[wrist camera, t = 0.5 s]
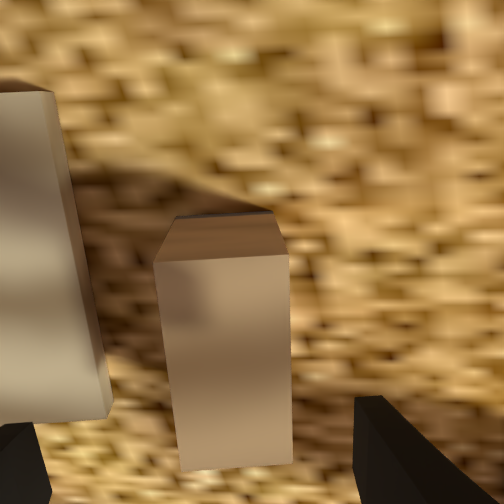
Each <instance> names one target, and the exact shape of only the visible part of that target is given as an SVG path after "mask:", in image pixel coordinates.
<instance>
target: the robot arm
mask: <svg viewBox="0 0 504 504" xmlns="http://www.w3.org/2000/svg"><path fill="white" fill-rule="evenodd" d="M352 468H353V472H354V476H355V480H356V484H357V488H358V492H359V496H360V499H361V503H362V504H499V503H498V502H497V501H496V500H495V499H493V498H492V497H491V496H490V495H489V494H487V493H486V492H485V491H484V490H483V489H481V488H480V487H479V486H478V485H477V484H476V483H474V482H473V481H472V480H471V479H470V478H469V477H468V476H466V475H465V474H464V473H463V472H462V471H461V470H460V469H459V468H457V467H456V466H455V465H454V464H453V463H452V462H451V461H450V460H449V459H448V458H446V457H445V456H444V455H443V454H442V453H441V452H440V451H439V450H438V449H437V448H436V447H434V446H433V445H432V444H431V443H430V442H429V441H428V440H427V439H426V438H425V437H424V436H423V435H422V434H421V433H420V432H419V431H418V430H417V429H416V428H415V427H414V426H413V425H412V424H410V423H409V422H408V421H407V420H406V419H405V418H404V417H403V416H402V415H401V414H400V413H399V412H398V411H397V410H396V409H395V408H394V407H393V406H392V405H391V404H390V403H389V402H388V401H387V400H386V399H385V398H384V397H383V396H382V395H379V396H366V397H355V400H354V434H353V467H352ZM51 494H52V488H51V485H50V481H49V478H48V474H47V471H46V467H45V464H44V460H43V457H42V453H41V450H40V446H39V443H38V439H37V436H36V432H35V429H34V425H33V422H22V423H8V424H4V425H2V426H1V427H0V504H49V501H50V498H51Z"/></svg>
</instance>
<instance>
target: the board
mask: <svg viewBox="0 0 504 504" xmlns="http://www.w3.org/2000/svg"><path fill="white" fill-rule="evenodd" d="M113 402H114V399H113V394H112V389H111V384H110V379H109V374H108V368H107V363H106V358H105V353H104V348H103V343H102V338H101V332H100V327H99V322H98V317H97V312H96V307H95V301H94V296H93V291H92V286H91V281H90V276H89V271H88V265H87V260H86V255H85V250H84V245H83V240H82V235H81V229H80V224H79V219H78V214H77V209H76V204H75V199H74V193H73V188H72V183H71V178H70V173H69V168H68V162H67V157H66V152H65V147H64V142H63V137H62V132H61V126H60V121H59V116H58V111H57V106H56V101H55V96H54V92H45V91H30V92H10V93H0V426H2V425H4V424H8V423H22V422H33V424H40V423H55V422H70V421H85V420H100V419H107V417H108V415H109V412H110V410H111V407H112V405H113Z"/></svg>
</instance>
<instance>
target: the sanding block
mask: <svg viewBox="0 0 504 504" xmlns="http://www.w3.org/2000/svg"><path fill="white" fill-rule="evenodd" d="M153 269H154V277H155V284H156V291H157V298H158V306H159V313H160V320H161V327H162V335H163V342H164V349H165V356H166V364H167V371H168V378H169V386H170V393H171V400H172V407H173V415H174V422H175V429H176V436H177V444H178V451H179V458H180V466H181V472H185V471H199V470H213V469H226V468H240V467H254V466H268V465H282V464H293V440H292V388H291V336H290V284H289V253H288V251H287V248H286V245H285V243H284V240H283V237H282V235H281V232H280V229H279V227H278V224H277V221H276V219H275V216H274V213H273V211H260V212H243V213H225V214H208V215H190V216H176V218H175V220H174V222H173V224H172V226H171V228H170V230H169V232H168V234H167V236H166V238H165V240H164V241H163V243H162V245H161V247H160V249H159V251H158V253H157V255H156V257H155V259H154V261H153Z"/></svg>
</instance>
